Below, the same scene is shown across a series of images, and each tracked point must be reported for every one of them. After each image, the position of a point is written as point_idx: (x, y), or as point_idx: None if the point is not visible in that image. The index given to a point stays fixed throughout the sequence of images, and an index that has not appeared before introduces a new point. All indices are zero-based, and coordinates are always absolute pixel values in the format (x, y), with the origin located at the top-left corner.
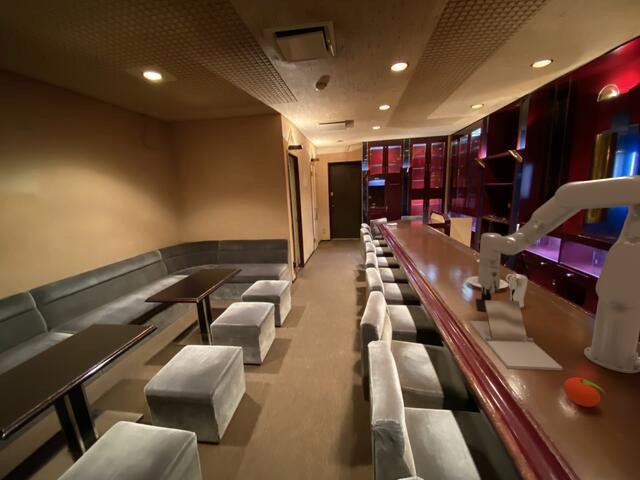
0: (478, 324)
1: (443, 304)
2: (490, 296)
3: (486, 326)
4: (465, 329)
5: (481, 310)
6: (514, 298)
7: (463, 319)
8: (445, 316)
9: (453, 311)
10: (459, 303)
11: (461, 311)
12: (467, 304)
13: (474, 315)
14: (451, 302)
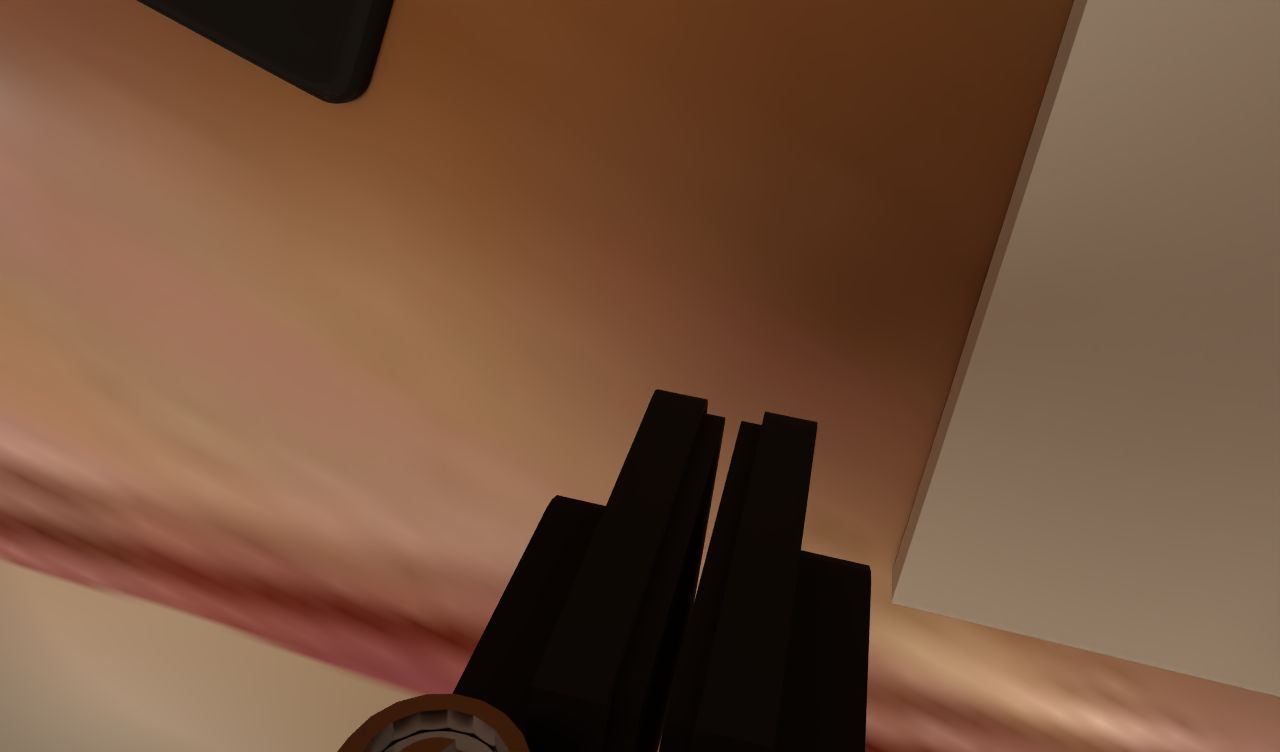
0: (1075, 553)
1: (154, 539)
2: (782, 642)
3: (1216, 469)
4: (1095, 745)
5: (353, 27)
6: None
7: None
8: None
9: (414, 546)
10: (38, 264)
11: (405, 428)
12: (44, 130)
13: (579, 302)
14: (32, 378)
